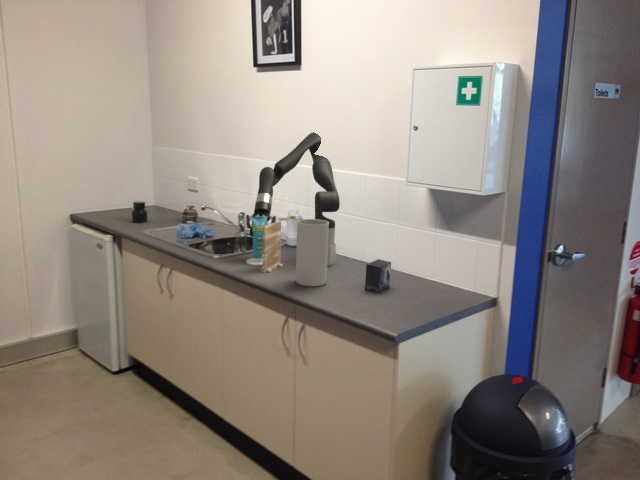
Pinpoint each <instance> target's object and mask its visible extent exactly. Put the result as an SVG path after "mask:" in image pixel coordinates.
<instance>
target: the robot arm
mask: <svg viewBox="0 0 640 480" xmlns="http://www.w3.org/2000/svg"><path fill="white" fill-rule="evenodd" d="M312 132H313V133H312ZM312 132H311V133H309V134H308V135H307V136H305V137H304V139H302V140H301V141H300V143H298V145H297V146H295V148H293V149H292V150H291V151H290V152H288V154H287V155H285V156H284V157H282V158H281V159H279V160H278V161H277V162H275V164H274V167H273V168H272V167H270V166H265V167H263V168H262V169H261V170H260V172H259V177H258V179H259V181H258V190H257V196H256V200H255V203H254V210H253V213H252V214H251V215H249V214H246V216H245V219H246V221H245V222H246V227H247V229H249V236H250V237H253V229H252V223H251V222H252V217H262V216H267V224H266V225H269V223H268V222H269V221H270V224H272V223H275V222H277V216H276V215H273V216H272V215H271V214H272V213H271V212H272V205H273V196H274V188H273V187H275V186H276V185H277V184H279V182H280V181H281V179H283V177H285V175H287V174H288V173H289V172H290V171H292V170H293V169H295V168H296V166H297V165H298V164H299V163H300V161H301V159H302V158H303V156H304V155H305V153H306V152H307V151H309V153H310V156H311V157H312V159H311V160H312V162H313V163H312V166H311V168H312V169H311V171H312V175H313V179H314V181H315V183H317V185H319V186H320V188H322V189H323V190H324V191H321V190H320V191H317V192H316V193H315V195H314V219H318V220H325V221H328V222H329V229H328V255H327V267H331V266H333V265H335V264H336V253H337V252H336V251H337V243H335V240H336V239H335V238H336V237H335V234H336V230H335V229H336V221H335V220H334V219H332V218H328V217H326V216H325V215H323V213H335V212H336V213H337V212H338V210H339V209H340V206H341V205H340V203H341V202H340V196H339V193H338V190H337V187H336V184H335V179H334V173H333V168H332V164H331V162H330V160H329V158H328V159H327V158H325V157H323V156H319V155H315V154H314V153H315V152H316V151H317V150H318V148H319V146H320V144H321V137H320V136H319V135H318V134H316V133H314V131H312ZM250 223H251V224H250Z"/></svg>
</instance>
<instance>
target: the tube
mask: <svg viewBox="0 0 640 480" xmlns="http://www.w3.org/2000/svg"><path fill="white" fill-rule="evenodd" d="M267 223H268V222H267V216H262V217H252V219H251V224H252V229H253V236H252V258H254V259H262V245H263V226H265V225H266V224H267Z"/></svg>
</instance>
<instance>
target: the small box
mask: <svg viewBox="0 0 640 480" xmlns="http://www.w3.org/2000/svg"><path fill="white" fill-rule="evenodd" d="M391 269H392V262H391V261H388V260H384V259H375V260H373V261H371V262H369V263H366V266H365V281H364V282H365V283H364V290H366V291H371V292H377V293H379V292H381V291H383V290H385V289H387V288H389V287H390V286H391V285H390V283H391V282H390V281H391ZM388 286H389V287H388ZM386 287H387V288H386Z"/></svg>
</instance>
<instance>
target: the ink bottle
mask: <svg viewBox="0 0 640 480" xmlns="http://www.w3.org/2000/svg"><path fill="white" fill-rule="evenodd" d="M132 205H133V210H132V211H131V222H132V223H134V222H135V223H136V224H142V223H143V224H144V223H147V222H148V211H147V209H146V202H145V201H141V200H140V201H139V200H138V201H137V200H136V201H133V202H132ZM135 223H134V224H135Z"/></svg>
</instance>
